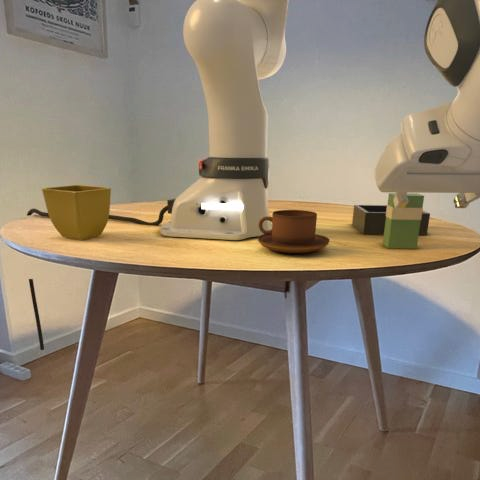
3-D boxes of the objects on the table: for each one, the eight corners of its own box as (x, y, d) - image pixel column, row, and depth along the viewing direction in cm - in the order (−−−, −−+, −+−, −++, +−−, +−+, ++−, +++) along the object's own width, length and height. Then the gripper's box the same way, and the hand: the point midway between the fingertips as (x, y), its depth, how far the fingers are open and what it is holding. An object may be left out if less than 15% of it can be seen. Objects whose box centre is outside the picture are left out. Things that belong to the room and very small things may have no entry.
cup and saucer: (258, 257, 74) (259, 218, 72) (256, 242, 85) (257, 207, 83) (334, 258, 74) (337, 219, 72) (322, 242, 85) (324, 208, 83)
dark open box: (363, 234, 93) (365, 212, 92) (352, 224, 104) (354, 204, 102) (426, 235, 93) (430, 213, 91) (409, 225, 104) (411, 205, 102)
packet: (387, 248, 81) (394, 195, 78) (382, 244, 85) (388, 193, 81) (417, 248, 81) (424, 195, 78) (410, 244, 84) (417, 193, 81)
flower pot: (116, 235, 90) (112, 187, 86) (82, 243, 82) (76, 191, 79) (82, 231, 94) (77, 184, 90) (47, 238, 86) (40, 188, 83)
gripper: (547, 117, 60) (489, 188, 73) (392, 115, 59) (361, 187, 72) (562, 155, 58) (500, 221, 71) (400, 153, 57) (367, 221, 69)
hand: (428, 204), depth 71 cm, fingers open, 8 cm apart
